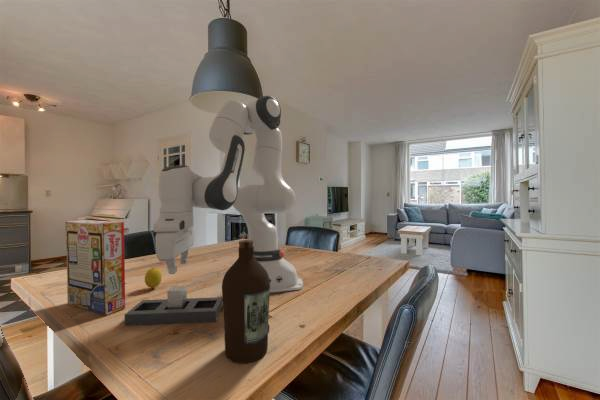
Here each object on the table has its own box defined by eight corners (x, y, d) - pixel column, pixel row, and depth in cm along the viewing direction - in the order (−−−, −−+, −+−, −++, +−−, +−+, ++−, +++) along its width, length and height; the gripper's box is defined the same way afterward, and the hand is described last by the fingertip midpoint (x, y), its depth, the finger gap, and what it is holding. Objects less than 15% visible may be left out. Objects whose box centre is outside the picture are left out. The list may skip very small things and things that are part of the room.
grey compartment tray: (222, 306, 85) (222, 297, 85) (215, 321, 75) (215, 311, 75) (142, 309, 82) (142, 300, 82) (124, 325, 73) (124, 314, 72)
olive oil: (212, 352, 60) (212, 241, 60) (250, 333, 68) (249, 235, 68) (242, 372, 53) (241, 247, 53) (279, 349, 62) (279, 240, 61)
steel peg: (186, 312, 81) (186, 285, 81) (182, 318, 77) (182, 290, 77) (172, 312, 80) (172, 286, 80) (167, 319, 77) (167, 291, 76)
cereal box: (126, 308, 84) (125, 221, 83) (104, 316, 78) (103, 223, 77) (87, 297, 92) (86, 219, 91) (65, 304, 86) (63, 220, 86)
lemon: (154, 291, 98) (154, 269, 97) (141, 290, 99) (141, 269, 99) (165, 286, 103) (164, 265, 103) (152, 285, 104) (152, 265, 104)
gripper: (178, 217, 88) (179, 259, 89) (150, 226, 68) (152, 280, 68) (198, 217, 89) (199, 258, 89) (176, 225, 68) (177, 279, 69)
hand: (178, 268), depth 79 cm, fingers open, 8 cm apart
